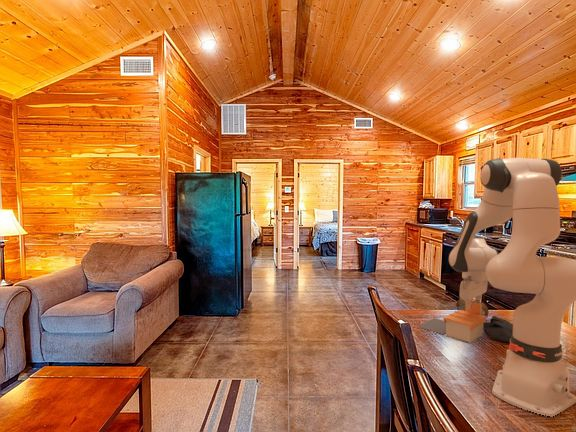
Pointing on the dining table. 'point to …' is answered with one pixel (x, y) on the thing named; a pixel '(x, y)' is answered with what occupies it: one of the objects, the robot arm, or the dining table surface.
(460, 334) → the tub
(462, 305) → the brown arch piece
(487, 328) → the dark slate chunk
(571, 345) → the dining table surface
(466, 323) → the lid
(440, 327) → the mat
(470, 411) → the dining table surface
